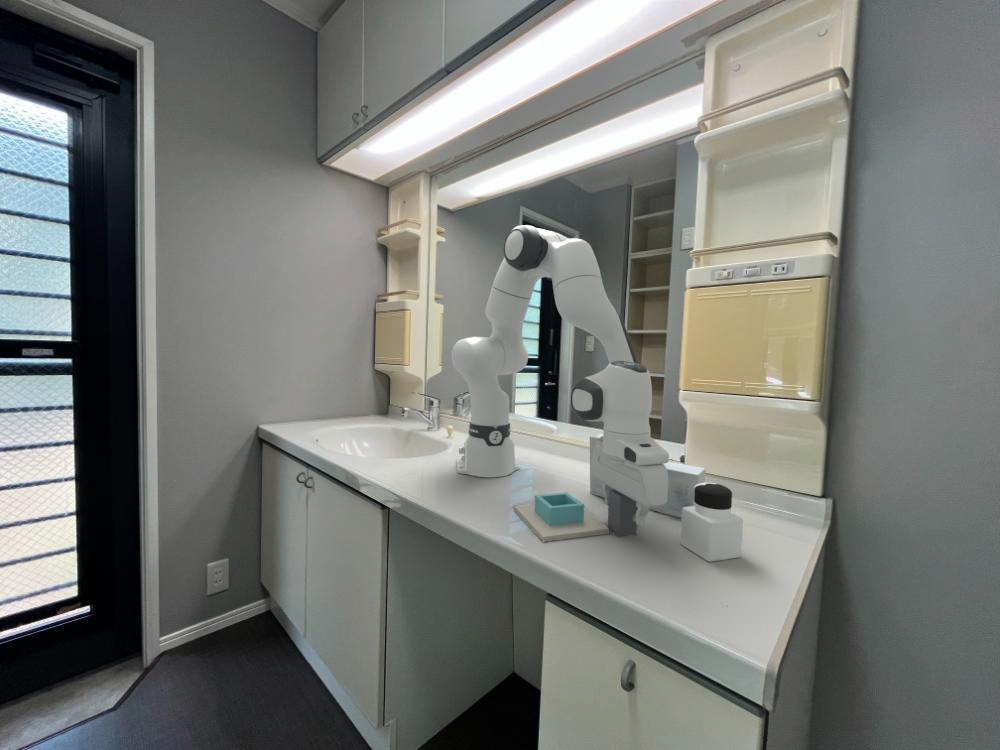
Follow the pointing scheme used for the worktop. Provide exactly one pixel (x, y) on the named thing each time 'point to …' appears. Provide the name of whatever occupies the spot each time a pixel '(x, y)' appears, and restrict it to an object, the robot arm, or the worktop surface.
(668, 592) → the worktop surface
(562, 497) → the plate
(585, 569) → the worktop surface
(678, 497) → the skincare box
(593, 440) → the skincare box
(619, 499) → the block
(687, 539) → the medicine bottle
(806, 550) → the worktop surface
